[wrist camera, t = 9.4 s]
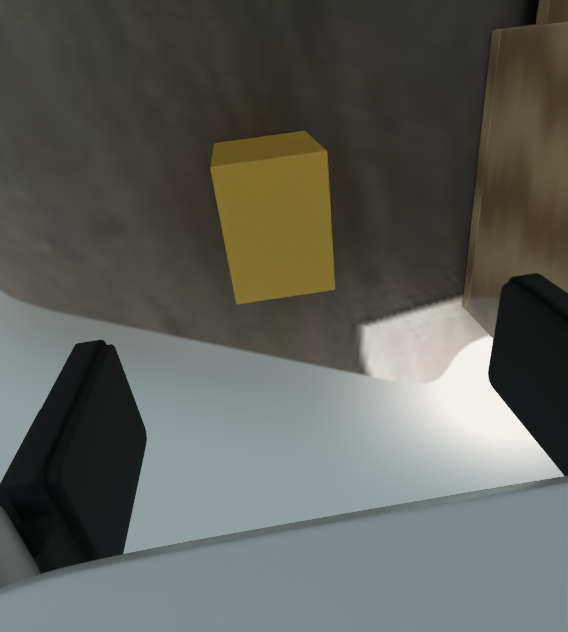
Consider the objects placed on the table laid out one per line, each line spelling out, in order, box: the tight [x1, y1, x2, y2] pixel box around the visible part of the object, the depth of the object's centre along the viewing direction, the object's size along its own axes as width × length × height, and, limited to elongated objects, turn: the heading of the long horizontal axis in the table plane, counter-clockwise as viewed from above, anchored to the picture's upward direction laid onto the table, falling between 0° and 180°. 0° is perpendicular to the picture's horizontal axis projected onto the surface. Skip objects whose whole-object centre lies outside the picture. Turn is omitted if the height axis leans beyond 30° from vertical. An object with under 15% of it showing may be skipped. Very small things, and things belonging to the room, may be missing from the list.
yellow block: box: [210, 131, 335, 304], centre depth 21 cm, size 6×4×6 cm
